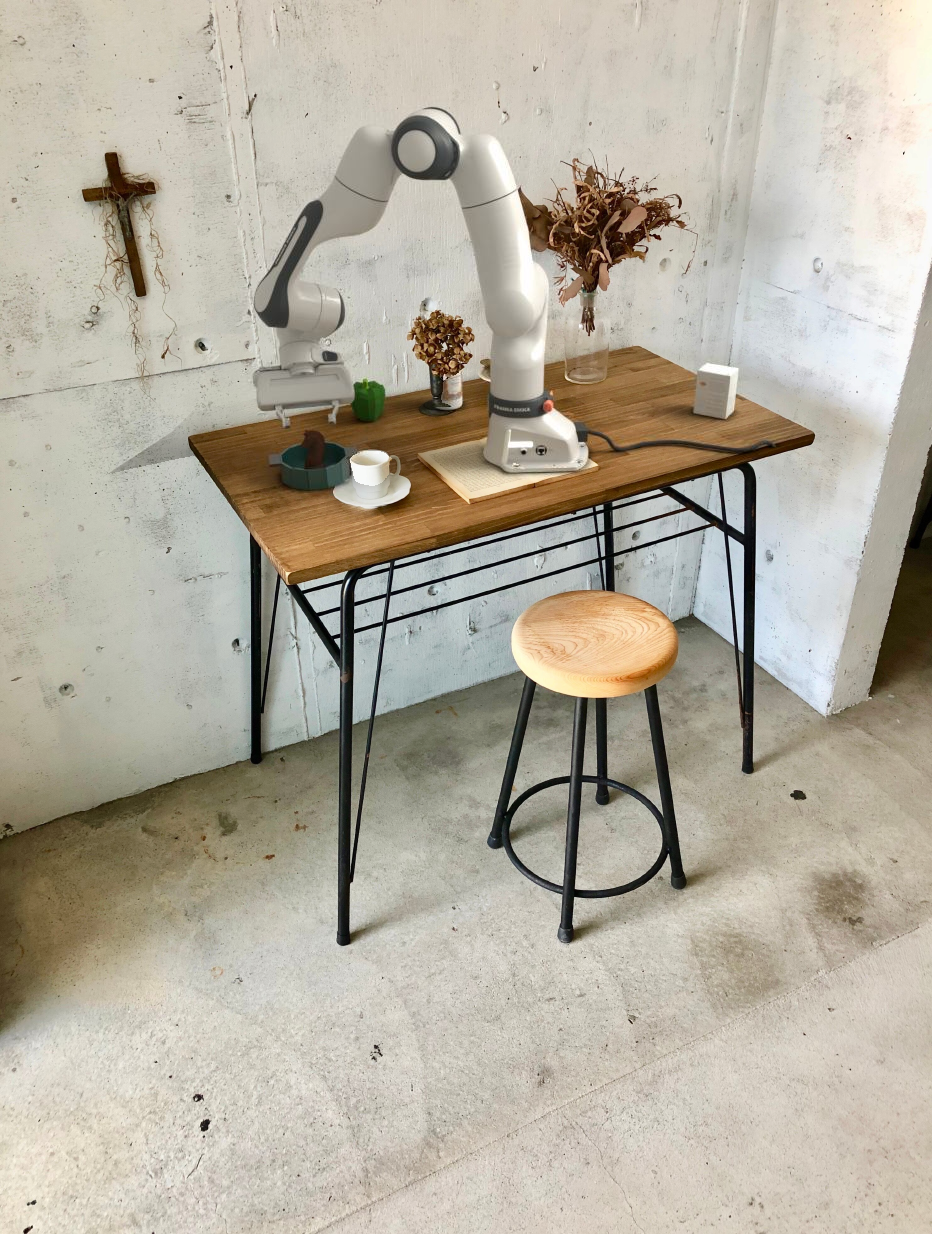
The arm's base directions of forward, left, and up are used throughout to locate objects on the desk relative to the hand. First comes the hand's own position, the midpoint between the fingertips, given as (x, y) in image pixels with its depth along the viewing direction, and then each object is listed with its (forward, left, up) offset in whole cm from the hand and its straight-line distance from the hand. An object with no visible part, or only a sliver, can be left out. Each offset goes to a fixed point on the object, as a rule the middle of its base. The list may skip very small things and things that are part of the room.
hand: (309, 425), depth 210 cm
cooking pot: (-1, +4, -9) cm, 10 cm away
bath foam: (-21, -37, -10) cm, 44 cm away
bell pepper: (-4, -27, -10) cm, 29 cm away
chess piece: (-1, +4, -10) cm, 10 cm away
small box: (-83, -41, -10) cm, 94 cm away
